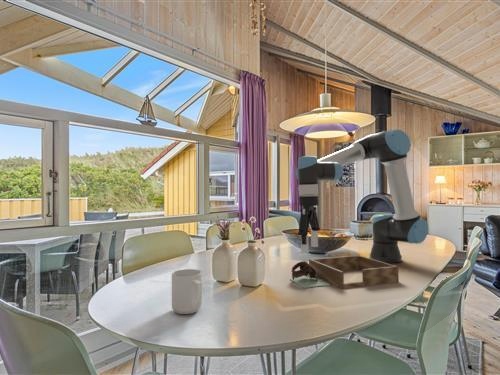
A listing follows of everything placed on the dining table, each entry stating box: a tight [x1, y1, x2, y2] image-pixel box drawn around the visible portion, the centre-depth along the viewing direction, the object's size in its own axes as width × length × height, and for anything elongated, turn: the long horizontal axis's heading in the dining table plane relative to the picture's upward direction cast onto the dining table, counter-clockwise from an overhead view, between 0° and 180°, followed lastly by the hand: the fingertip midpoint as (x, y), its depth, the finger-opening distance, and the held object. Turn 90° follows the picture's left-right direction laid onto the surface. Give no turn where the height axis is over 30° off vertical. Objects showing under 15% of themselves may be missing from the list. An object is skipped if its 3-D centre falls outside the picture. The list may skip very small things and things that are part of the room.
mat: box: [289, 276, 331, 289], centre depth 123 cm, size 11×12×1 cm
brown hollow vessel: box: [291, 260, 318, 281], centre depth 125 cm, size 12×9×8 cm
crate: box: [308, 255, 400, 290], centre depth 130 cm, size 26×24×6 cm
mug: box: [171, 268, 203, 315], centre depth 94 cm, size 12×9×11 cm
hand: (310, 249), depth 123 cm, fingers open, 13 cm apart
